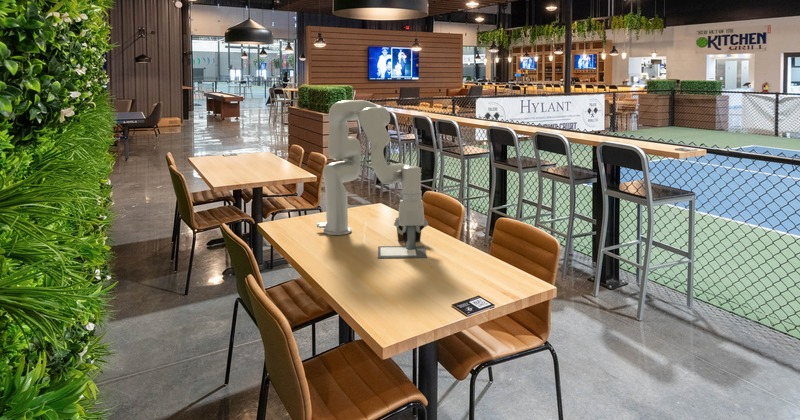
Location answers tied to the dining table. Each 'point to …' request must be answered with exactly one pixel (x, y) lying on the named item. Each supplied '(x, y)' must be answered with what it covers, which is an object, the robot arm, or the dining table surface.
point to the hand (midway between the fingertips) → (411, 240)
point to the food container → (400, 234)
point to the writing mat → (401, 252)
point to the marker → (411, 237)
